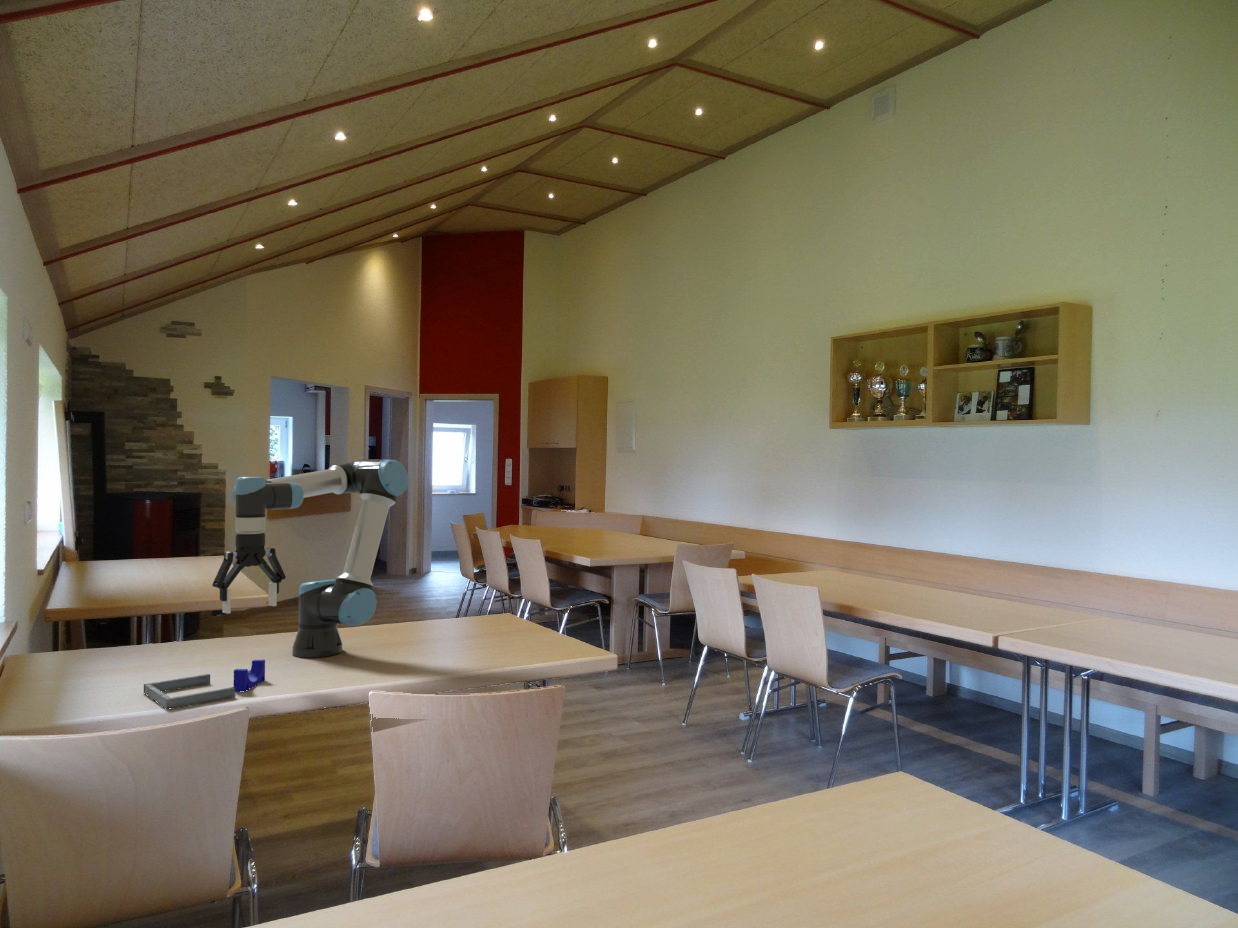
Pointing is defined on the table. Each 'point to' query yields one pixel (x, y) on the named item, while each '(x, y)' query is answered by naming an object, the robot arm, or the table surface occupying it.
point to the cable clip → (249, 676)
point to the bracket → (155, 693)
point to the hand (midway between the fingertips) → (250, 609)
